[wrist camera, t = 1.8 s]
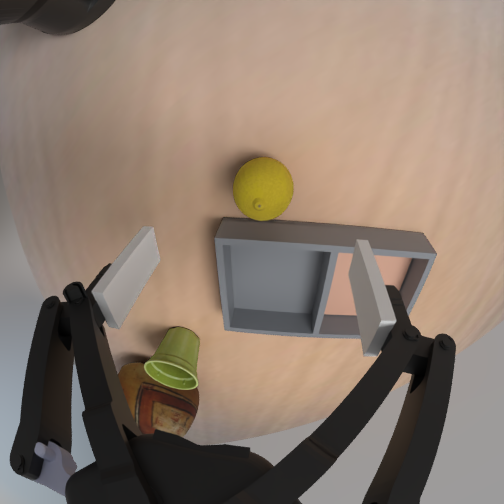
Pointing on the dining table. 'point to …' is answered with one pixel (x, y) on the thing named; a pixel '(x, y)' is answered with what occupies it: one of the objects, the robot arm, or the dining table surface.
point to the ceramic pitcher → (157, 402)
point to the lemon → (263, 188)
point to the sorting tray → (308, 274)
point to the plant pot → (176, 360)
